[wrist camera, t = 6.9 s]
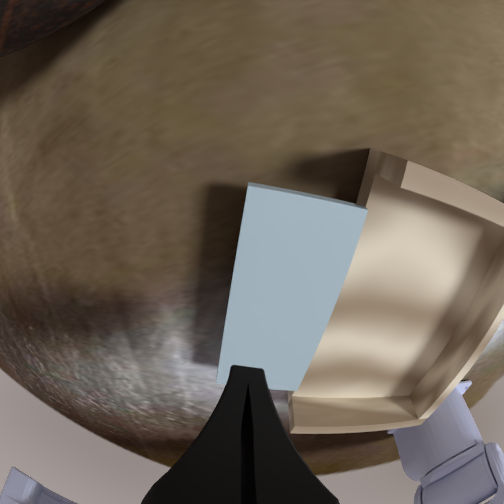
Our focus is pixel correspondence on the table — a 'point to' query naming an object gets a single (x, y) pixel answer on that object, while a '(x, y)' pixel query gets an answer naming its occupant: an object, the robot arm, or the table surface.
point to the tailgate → (286, 280)
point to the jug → (37, 20)
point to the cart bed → (406, 303)
